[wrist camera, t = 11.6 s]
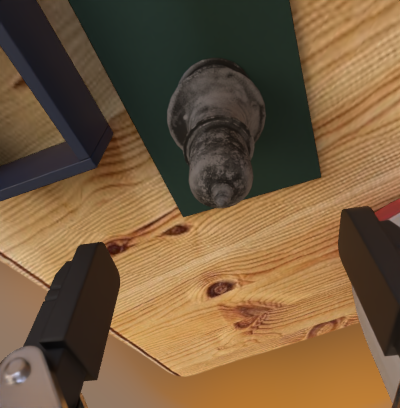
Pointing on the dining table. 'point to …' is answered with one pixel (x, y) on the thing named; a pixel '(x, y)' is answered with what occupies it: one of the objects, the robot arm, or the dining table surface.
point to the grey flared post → (217, 129)
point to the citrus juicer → (387, 365)
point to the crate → (50, 102)
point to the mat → (191, 54)
